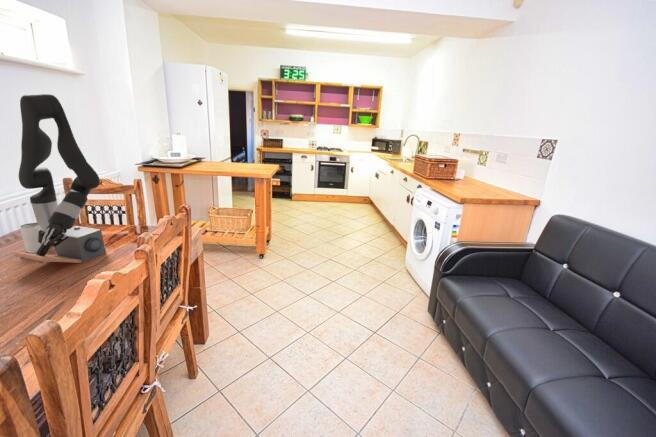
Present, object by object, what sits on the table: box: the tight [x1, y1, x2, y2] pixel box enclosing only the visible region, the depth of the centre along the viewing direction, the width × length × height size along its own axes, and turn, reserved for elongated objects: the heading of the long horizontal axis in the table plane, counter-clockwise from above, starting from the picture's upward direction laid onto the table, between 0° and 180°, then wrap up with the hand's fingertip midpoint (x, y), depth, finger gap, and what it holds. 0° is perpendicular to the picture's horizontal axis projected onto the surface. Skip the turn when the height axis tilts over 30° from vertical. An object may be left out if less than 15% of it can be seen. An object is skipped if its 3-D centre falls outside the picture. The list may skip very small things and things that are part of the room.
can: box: [19, 222, 41, 254], centre depth 130 cm, size 6×6×12 cm
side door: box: [13, 251, 83, 264], centre depth 117 cm, size 14×2×15 cm
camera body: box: [54, 225, 107, 263], centre depth 127 cm, size 16×10×12 cm, turn 75°
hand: (40, 255), depth 113 cm, fingers closed
